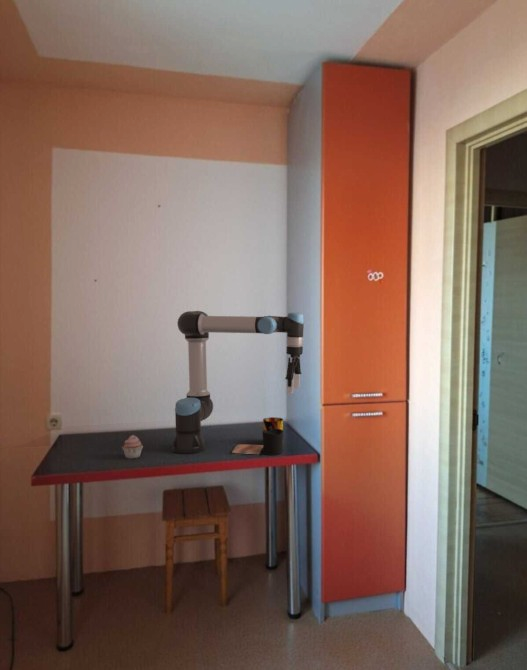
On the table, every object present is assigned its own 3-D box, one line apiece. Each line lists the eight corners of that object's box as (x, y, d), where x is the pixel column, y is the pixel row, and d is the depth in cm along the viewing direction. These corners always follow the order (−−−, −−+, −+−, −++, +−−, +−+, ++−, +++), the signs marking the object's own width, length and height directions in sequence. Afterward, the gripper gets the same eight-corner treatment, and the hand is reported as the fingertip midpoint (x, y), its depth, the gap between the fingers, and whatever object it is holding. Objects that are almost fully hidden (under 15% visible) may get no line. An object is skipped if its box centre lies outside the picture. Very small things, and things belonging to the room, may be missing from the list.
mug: (268, 449, 235) (268, 424, 234) (261, 442, 248) (260, 418, 247) (288, 448, 237) (288, 422, 237) (279, 440, 251) (279, 416, 250)
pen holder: (281, 456, 224) (281, 434, 224) (260, 455, 226) (260, 433, 226) (284, 450, 234) (284, 429, 233) (264, 449, 236) (264, 428, 235)
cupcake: (126, 461, 219) (126, 438, 218) (119, 456, 226) (118, 434, 226) (147, 457, 224) (146, 435, 224) (138, 452, 232) (138, 431, 231)
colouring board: (232, 454, 228) (232, 451, 228) (238, 446, 240) (237, 443, 240) (259, 455, 226) (259, 452, 226) (263, 447, 238) (263, 444, 238)
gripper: (296, 349, 223) (295, 396, 225) (307, 343, 247) (306, 386, 249) (280, 348, 225) (278, 395, 227) (292, 342, 249) (291, 384, 251)
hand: (293, 390), depth 238 cm, fingers open, 13 cm apart
